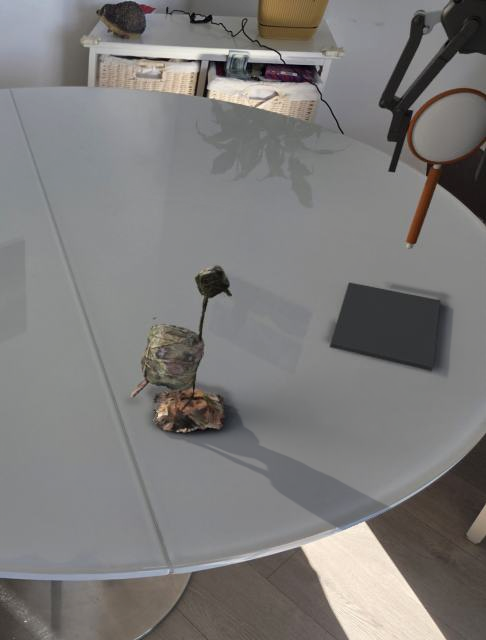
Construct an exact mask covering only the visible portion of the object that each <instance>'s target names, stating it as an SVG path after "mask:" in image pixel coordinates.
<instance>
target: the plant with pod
mask: <svg viewBox="0 0 486 640" xmlns="http://www.w3.org/2000/svg"><path fill="white" fill-rule="evenodd" d="M194 282H195V284H196V287H197V290H198V292H199V294H200V295H201V296H202V297H203V300H202V303H201V304H202V305H201V306H202V307H201V316H200V317H199V325H198V333H196V332H195V331H193V330H191V329H189V328H187V327H184V326H180V325H176V324H175V325H172V324H166V323H154V324H152V325H151V327H150V330H149V332H148V335H147V339H146V340H147V345H146V347H145V349H144V351H143V352H142V357H141V360H140V366H141V370H142V374H143V375H142V376H143V377H144V379H143V380H142V381H141V382H140V383H139V384H138V385H137V388H136V389H135V390H134V391H133V392H132V393H131V395H130V398H131V399H133V398H135V397H136V396H137V395H138V394H139V393H140V392H141V391H143V390H144V389H145V387H147V386H148V385H149V384H151V385H154V386H157V387H166V388H167V389H169V390H170V391H169V390H166V391H164V390H163V391H162V392H160V393H155V396H154V398H153V401H152V402H153V403H159V404H160V402H163V403H161V404H160V405H161V406H160V407H159V409H158V410H157V411H156V412H157V413H158V417H157V420H156V421H155V422H153V425H154V426H155V427H156V428H158V429H160V430H161V431H169V432H170V431H171V432H176V433H179V432H182V433H189V432H191V431H196V430H197V429H199V430H202V431H203V430H205V429H207V428H210V429H216V430H220V429H221V428H222V427H223V426H224V424H223V423H225V419H224V418H225V417H227V416H228V414H227V413H226V412H225V411H224V409H225V405H224V404H225V401H226V399H225V398H224V397H223V396H222V395H220V393H218V394H217V393H210V394H209V393H205V392H204V391H203V390H202V389H197V388H196V380H197V372H198V368H199V366H200V363H201V361H202V360H203V357H204V355H205V345H206V344H205V341H204V338H203V330H204V329H203V327H204V322H205V315H206V314H205V313H206V311H207V307H208V303H209V299H213V298H215V297H217V296H218V295H221V294H222V293H224V294H226V295H227V296H228V298H229V297H232V296H233V294H232V292H231V290H230V286H231V283H230V280H229V278H228V276H227V274H226V273H225V270H224V269H223V268H222V266H221V265H218V264H216V265H213V266H211V267H206V268H204V269H203V270H201V271H200V272H198V273H197V274H196V275H195V276H194ZM156 319H157V317H155V316H154V317H153V318H152V320H156Z"/></svg>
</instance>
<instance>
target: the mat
mask: <svg viewBox="0 0 486 640" xmlns="http://www.w3.org/2000/svg"><path fill="white" fill-rule="evenodd" d="M440 307H441V300H440V299H436V298H430V297H426V296H420V295H417V294H411V293H405V292H400V291H396V290H391V289H386V288H381V287H375V286H371V285H364V284H360V283H355V282H348V284H347V287H346V291H345V294H344V298H343V301H342V304H341V308H340V309H339V310H340V311H339V314H338V317H337V321H336V323H335V328H334V330H333V334H332V337H331V340H330V343H329V347H330V348H333V349H337V350H342V351H346V352H350V353H354V354H358V355H362V356H367V357H371V358H375V359H380V360H384V361H388V362H391V363H396V364H400V365H404V366H409V367H414V368H417V369H422V370H426V371H429V372H432V371H433V369H434V361H435V355H436V354H435V352H436V345H437V344H436V343H437V335H438V325H439V319H440Z"/></svg>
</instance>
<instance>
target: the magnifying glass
mask: <svg viewBox="0 0 486 640" xmlns="http://www.w3.org/2000/svg"><path fill="white" fill-rule="evenodd" d="M406 141H407V146H408V148H409V150H410V152H411V154H412V155H413V156H414V157H415V158H416V159H418V160H419V161H421V162H423V163H426V164H428V165H429V164H430V165H431V166H430V168H429V172H428V175H427V177H426V180H425V183H424V187H423V189H422V193H421V195H420V198H419V201H418V204H417V207H416V209H415V213H414V216H413V219H412V222H411V223H410V228H409V231H408V233H407V236H406V239H405V242H406V246H405V247H406V248H407V249H408V250H411V249H413V248H414V245H416V244H417V242H418V239H419V237H420V234H421V231H422V228H423V225H424V222H425V219H426V216H427V214H428V211H429V209H430V205H431V202H432V200H433V197H434V195H435V191H436V188H437V185H438V182H439V179H440V177H441V175H442V171H443V167H442V165H448V164H449V165H451V164H454V163H457V162H459V161H462V160H464V159H466V158H468V157H470V156H471V155H472V154H474V153H475V152H477V151H478V150H479V149H480V148H481V147H482V146H483V145H484V144H486V93H484V92H482V91H481V90H478V89H474V88H470V87H457V88H451V89H449V90H445V91H442V92H440V93H437V95H434V96H433V97H431V98H430V99H429V100H427V101H426V102H424V103H423V105H421V106H420V107H419V108H418V110H417V111H416V112H415V114H414V115H413V116H412V118H411V121H410V124H409V128H408V131H407V134H406Z"/></svg>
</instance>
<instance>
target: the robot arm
mask: <svg viewBox="0 0 486 640" xmlns="http://www.w3.org/2000/svg"><path fill="white" fill-rule="evenodd" d="M439 23H441V25H442V28H443V30H444V32H445V34H446V37H447V39H446V41H445V42H444V43H443V44H442V45H441V47H440V48H439V50H438V51H437V53H435V54H434V56H433V57H432V58H431V60H430V61H429V62H428V63H427V65H426V66H425V67H424V68H423V69H422V71H421V72H420V74H419V75H418V76H417V77H416V78H415V79H414V80H413V82H412V83H411V84H410V85H409V86H408V88H407V90H406V91H404V93H403V94H402V95H401V97H400V96H397V95H396V93H397V91H398V90H399V87H400V85H401V83H402V82H403V79H404V77H405V75H406V73H407V71H408V69H409V67H410V65H411V63H412V61H413V59H414V57H415V55H416V53H417V51H418V49H419V47H420V44H421V42H422V40H423V36H427V35H429V34H431V32H432V31H433V29H434V27H435V25H437V24H439ZM457 53H458V54H459V55H470V54H476V53H477V54H480V55H484V56H486V0H449V1H448V3H447V4H446V5H445V6H444V7H443V9H441V10H432V11H425V10H424V9H418V10H416V11H415V12H414V13H413V15H412V17H411V21H410V29H409V37H408V39H407V41H406V44H405V46H404V47H403V50H402V51H401V54H400V55H399V58H398V60H397V62H396V64H395V66H394V68H393V71H392V72H391V74H390V77H389V79H388V81H387V83H386V85H385V87H384V89H383V91H382V94H381V96H380V99H379V101H378V107H379V108H380V109H383V110H384V109H386V110H388V111H390V113H392V117H391V121H390V124H389V128H388V132H387V135H386V139H387V142H389V143H390V142H391V143H395V145H394V150H393V153H392V156H391V161H390V164H389V167H388V170H387V172H388V173H396V170H397V167H398V164H399V160H400V158H401V155H402V151H403V148H404V144H405V141H406V139H407V132H408V128H409V125H410V122H411V120H412V118H413V113H414V109H410V108H411V107H412V106H413V105H414V104H415V103H416V101H417V100H418V99H419V97H421V95H422V94H423V93H424V92H425V90H427V88H428V87H429V86H430V84H431V83H432V82H433V81H434V80H435V78H437V76H438V75H439V74H440V73H441V72H442V70H443V69H444V68H445V66H446V65H447V64H449V62H450V61H451V60H452V59H453V58H454V57H455V56H456V55H457ZM474 177H475V178H474V183H475V184H481V185H483V184H484V181H485V180H486V147H485V148H484V151H483V153H482V156H481V158H480V161H479V164H478V167H477V169H476V171H475V176H474Z"/></svg>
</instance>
